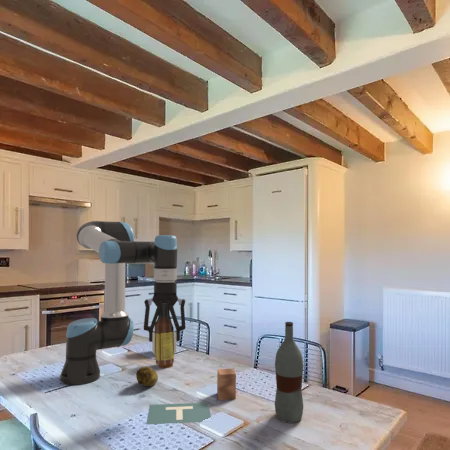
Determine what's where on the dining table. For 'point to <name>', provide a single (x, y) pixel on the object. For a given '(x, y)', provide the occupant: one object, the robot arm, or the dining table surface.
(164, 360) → the sauce bottle
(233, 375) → the wooden block
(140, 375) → the potato
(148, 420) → the letter card
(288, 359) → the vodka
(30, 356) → the dining table surface
